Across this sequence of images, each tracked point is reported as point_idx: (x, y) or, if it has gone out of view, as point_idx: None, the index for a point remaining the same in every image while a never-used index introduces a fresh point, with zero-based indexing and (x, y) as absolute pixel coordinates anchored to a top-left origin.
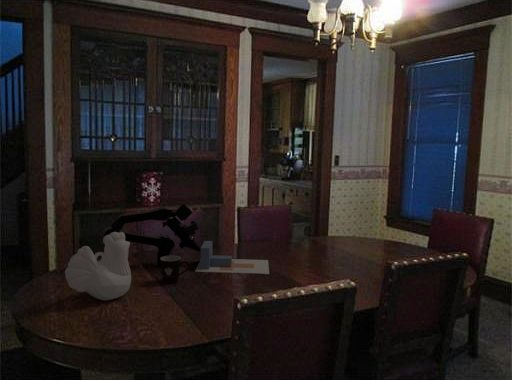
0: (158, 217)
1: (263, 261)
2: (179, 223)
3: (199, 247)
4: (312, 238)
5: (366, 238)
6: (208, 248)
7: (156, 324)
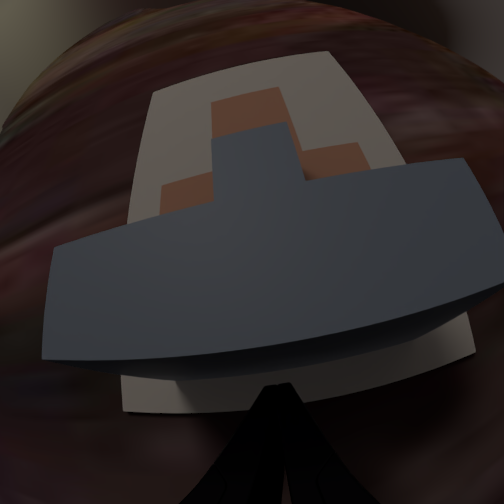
0: None
1: (171, 94)
2: None
3: (261, 412)
4: (7, 124)
5: (43, 71)
6: (466, 169)
7: None
